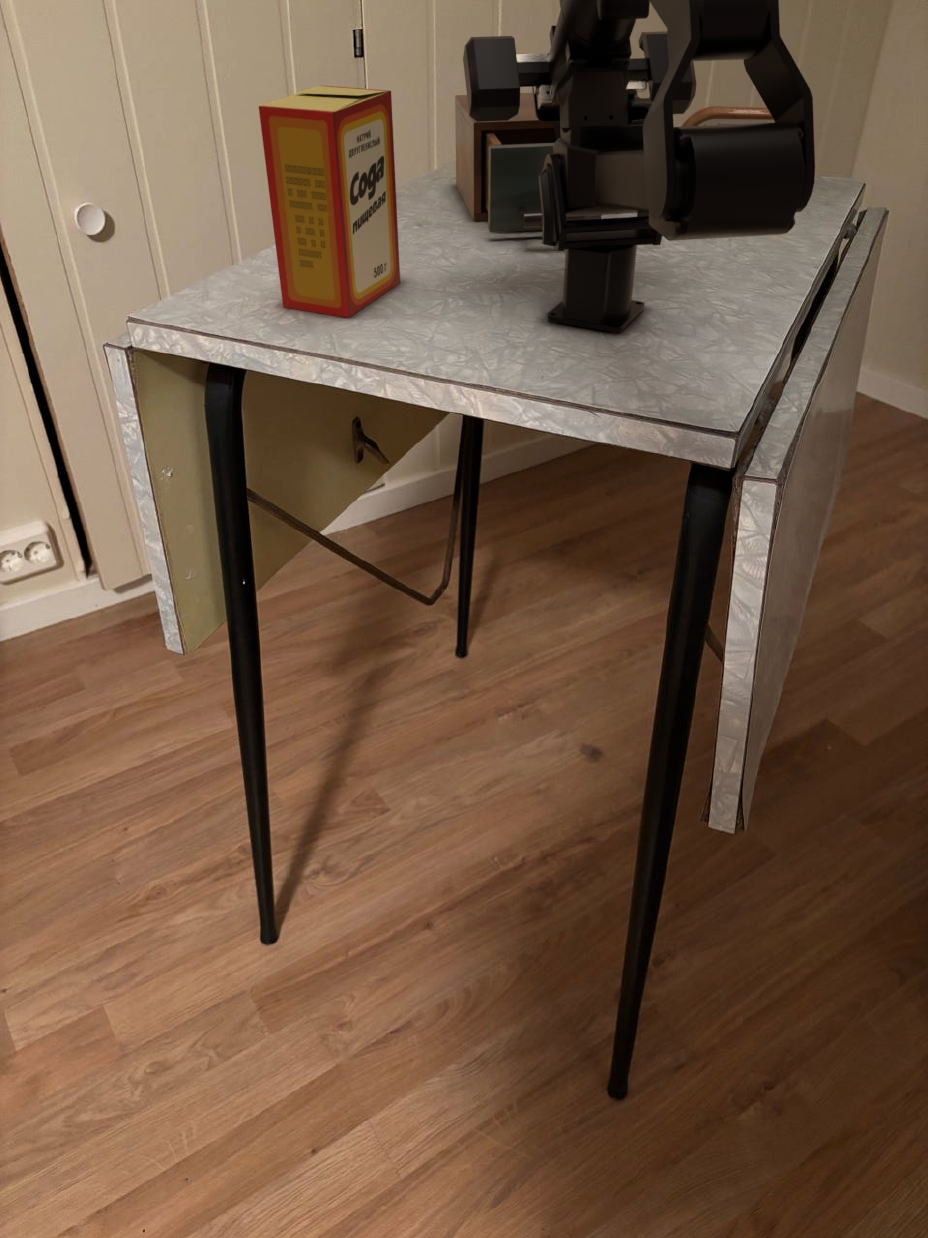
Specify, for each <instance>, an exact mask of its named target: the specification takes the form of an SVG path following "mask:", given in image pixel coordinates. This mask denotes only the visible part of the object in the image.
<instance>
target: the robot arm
mask: <svg viewBox="0 0 928 1238" xmlns="http://www.w3.org/2000/svg"><path fill="white" fill-rule="evenodd" d="M558 2H559V13H558V16H557V17H558V18H557V22H556V24H555V25H551V27H550V31H549V34H548V35H549V43H550V50H549V52H540V53H539V52H537V53H535V52H534V53H517V48H516V41H515V37H514V36H512V35H496V36H495V35H494V36H492V35H491V36H471V37H470V38H469V39H468V41H467V42H466V44H464V48H463V56H462V62H463V64H462V65H463V70H464V80H465V81H464V83H465V89H466V95H467V100H468V109H469V116H470V117H471V118H473V119H474V120H475V121H476V122H484V121H507V120H509V119H511V118H512V117H514V116H516V115H518V112H519V108H520V93H521V88H529V87H530V88H531V93H533V101H534V109H535V115H536V117H537V119H538V120H540V121H541V122H552V123H553V126H554V131H555V136H556V142H555V143H554V145H553V153H557V154H548V155H547V156H546V158H545V163H544V167H543V170H542V172H541V174H540V175H539V188H540V198H541V208H542V222H543V228H542V230H541V231H542V232H541V244H542V245H545V246H550V247H554V248H555V250H556V251H557V252H562V251H564V253H565V254H564V272H563V288H562V301H560V302H559V303H558V304H557V305H556V306H554V308H552V309H551V310H550V311H549V312H547V314H546V320H547V321H549V322H554V323H558V324H559V323H560V324H565V325H571V326H575V327H582V328H588V329H593V330H599V331H605V332H611V333H621V332H622V331H623V330H624V329H625V328H626V327H627V326H628V325H629V324H630V323H632V321H633V320H634V319H635V318H637V316H639V314H641V312H643V311H644V309H645V302H643V301H641V300H634V299H633V290H634V280H635V270H636V260H637V251H638V250H637V249H638V246H647V245H652V246H660V245H661V243H662V240H663V238H665V240H667V241H669V242H671V241H672V242H673V241H690V240H692V241H693V240H708V239H709V240H711V239H727V238H729V239H730V238H743V237H744V238H745V237H763V236H782V235H785V234H788V232H790V231H791V230H792V229H793V228H794V226H795V225H796V218H795V216H796V214H797V213H801V212H802V211H803V210H804V209H805V208H806V207H807V206H808V204H809V202H810V200H811V197H812V194H813V190H814V186H815V185H814V184H815V179H816V154H815V151H816V150H815V126H814V124H815V123H814V122H815V121H814V99H813V98H814V97H813V93H812V90H811V88H810V86H809V85H808V83H807V81H806V79H805V77H804V76H803V74H802V71H801V70H800V68H799V66H798V65H797V63H796V61H795V60H794V58H793V55H792V54H791V52H790V51H789V49H788V47H787V45H786V44H785V41H784V40H783V38H782V37H781V28H780V27H781V25H780V1H779V0H559V1H558ZM650 5H651V6H652V7H653V9H654V11H655V12H656V14H657V15H658V17H659V18H660V20H661V21H662V23H663V25H664V26H665V27H666V31H663V30H662V31H642V32H641V33H640V36H639V39H638V48H639V49H640V50H641V51H642V52H643V56H644V57H639V58H634V57H633V58H631V57H632V54H633V51H632V43H631V36H632V33H633V30H634V27H635V24H636V21H637V20H642V19H643V20H645V19H648V17H649V16H650ZM737 60H743V65H744V69H745V72H746V74H747V76H748V77H749V79H750V81H751V82H752V84H753V85H754V88H755V89H756V91H757V93H758V94H759V96H760V98H761V100H762V101H763V103H764V105H765V107H767V108H768V110H769V112H770V114H771V115H772V117H773V119H774V121H775V123H756V124H733V125H710V126H686V127H681V126H674V125H675V124H674V115H684V114H685V113H686V112H687V111H688V109H689V108H690V107H691V105H692V103H693V100H694V98H695V97H696V91H697V78H696V70H695V63H694V62H706V61H707V62H708V61H709V62H710V61H737ZM647 89H648V91H649V92H648V93H649V97H646V98H645V97H643V98H642V97H640V96H638V93H643V92H644V93H645V92H646V91H647ZM626 214H627V215H628V214H636V216H628V217H626V216H625V217H608V218H606V217H605V218H601V219H587V220H568V221H566V217H571V216H590V215H602V216H606V215H626Z"/></svg>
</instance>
